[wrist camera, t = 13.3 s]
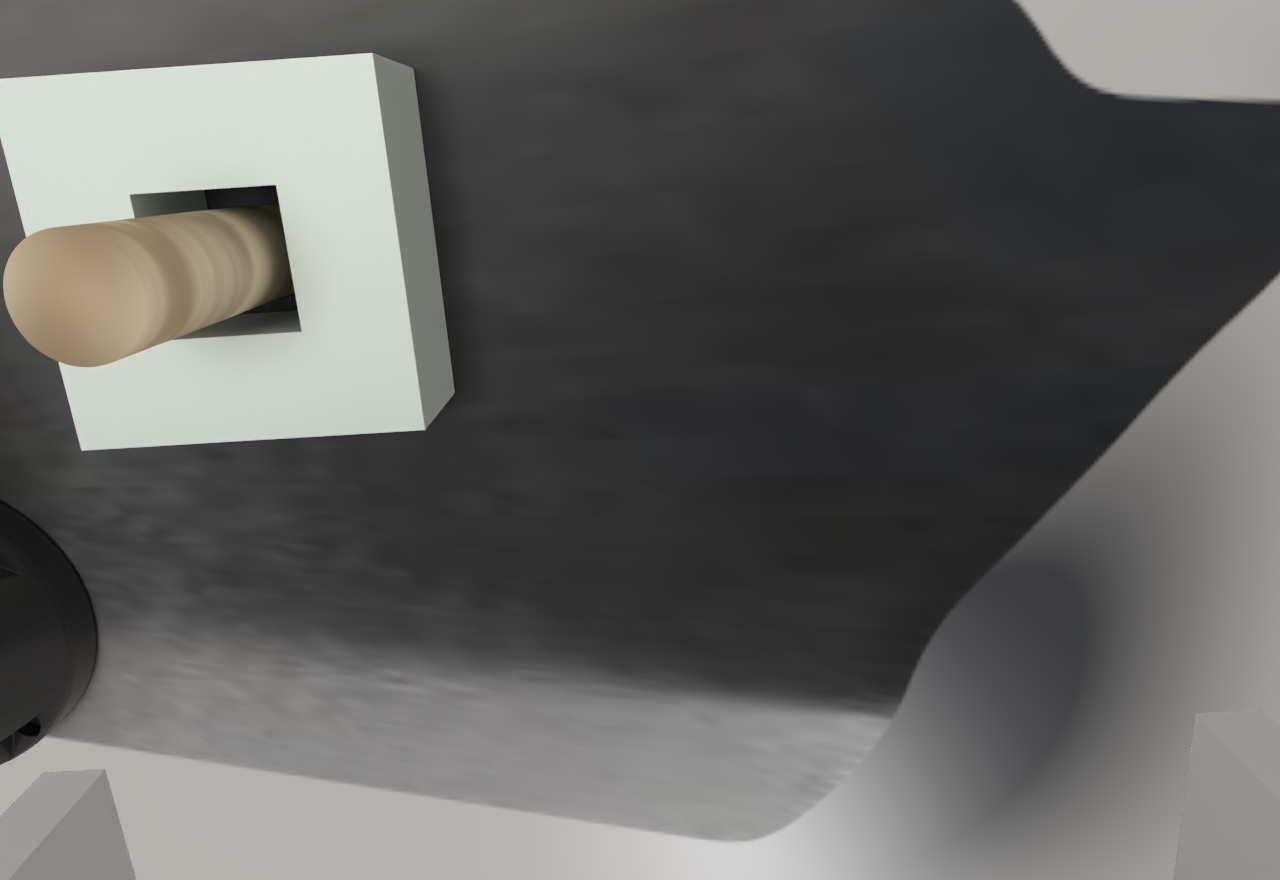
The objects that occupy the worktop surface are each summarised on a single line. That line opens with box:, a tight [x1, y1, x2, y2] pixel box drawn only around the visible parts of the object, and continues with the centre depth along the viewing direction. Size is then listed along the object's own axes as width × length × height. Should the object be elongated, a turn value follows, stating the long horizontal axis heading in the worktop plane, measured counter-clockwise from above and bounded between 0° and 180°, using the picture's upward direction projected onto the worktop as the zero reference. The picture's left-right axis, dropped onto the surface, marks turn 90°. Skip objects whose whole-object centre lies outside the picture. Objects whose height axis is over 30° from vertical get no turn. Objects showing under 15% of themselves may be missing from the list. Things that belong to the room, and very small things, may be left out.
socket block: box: [0, 53, 455, 451], centre depth 37 cm, size 14×14×6 cm
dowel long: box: [3, 203, 295, 367], centre depth 33 cm, size 4×4×15 cm
